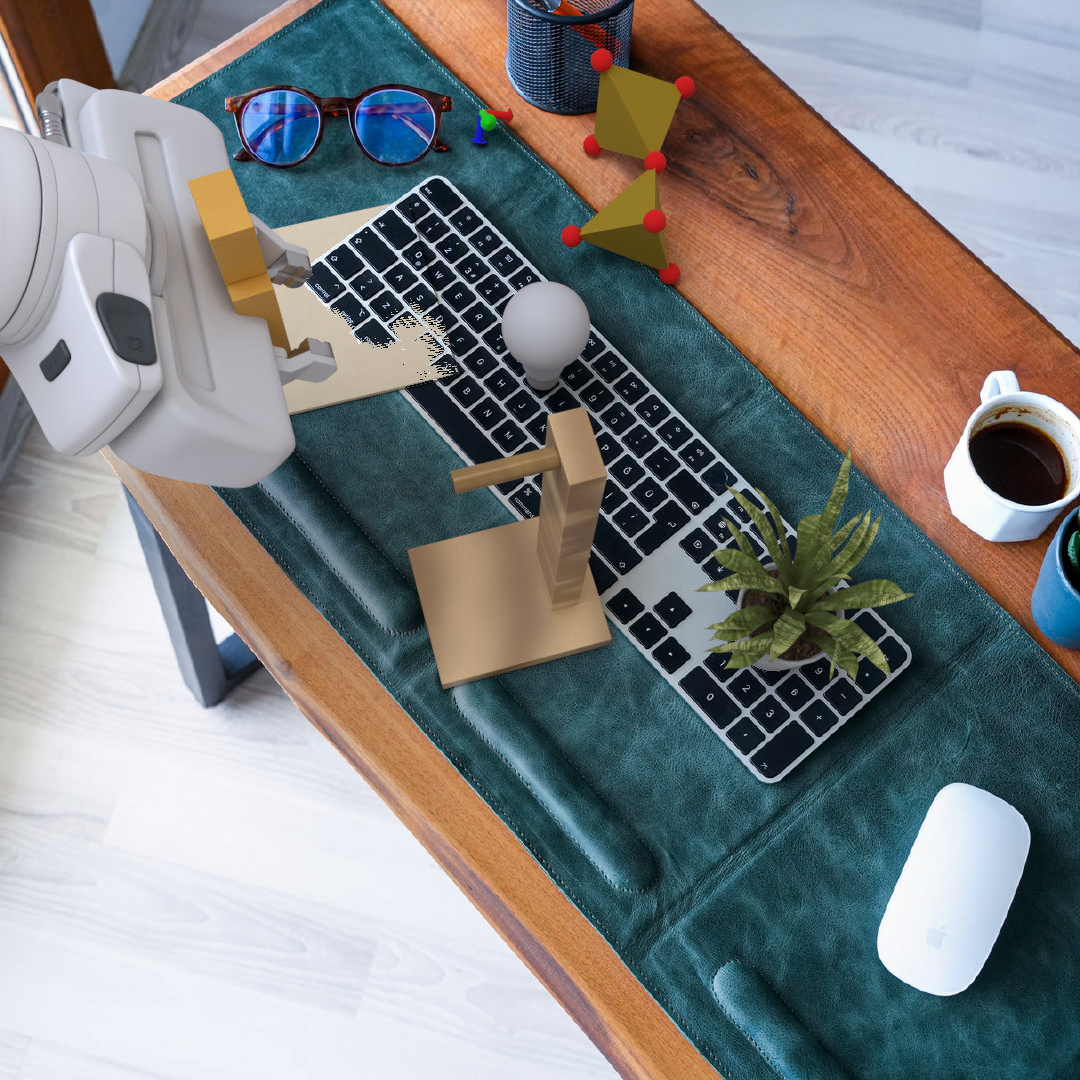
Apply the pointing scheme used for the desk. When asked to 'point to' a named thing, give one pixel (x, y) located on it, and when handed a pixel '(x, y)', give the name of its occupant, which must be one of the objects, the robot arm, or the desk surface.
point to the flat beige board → (356, 363)
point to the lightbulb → (545, 330)
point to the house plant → (800, 591)
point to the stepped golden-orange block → (238, 250)
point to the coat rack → (520, 565)
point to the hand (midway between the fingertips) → (316, 317)
